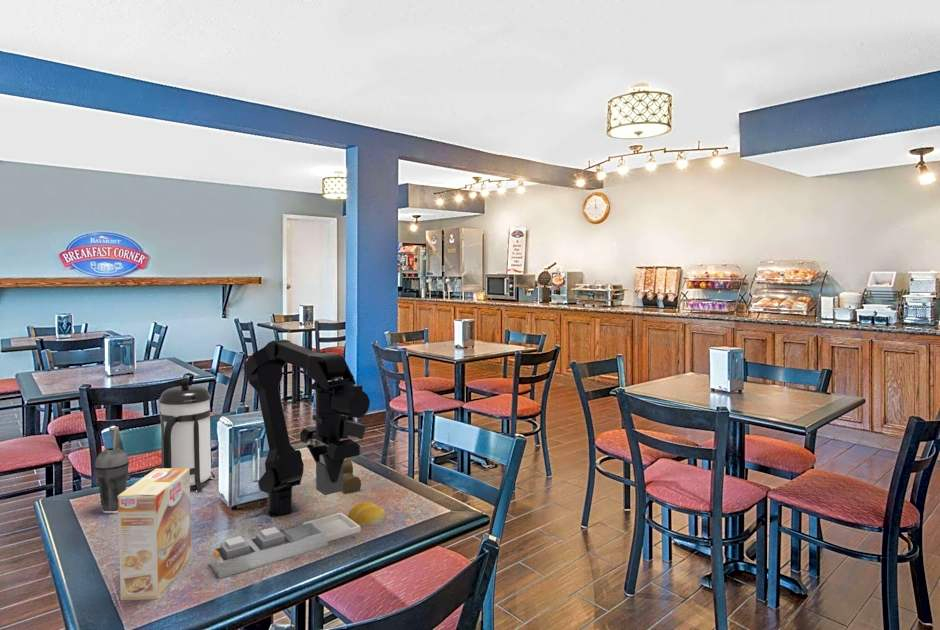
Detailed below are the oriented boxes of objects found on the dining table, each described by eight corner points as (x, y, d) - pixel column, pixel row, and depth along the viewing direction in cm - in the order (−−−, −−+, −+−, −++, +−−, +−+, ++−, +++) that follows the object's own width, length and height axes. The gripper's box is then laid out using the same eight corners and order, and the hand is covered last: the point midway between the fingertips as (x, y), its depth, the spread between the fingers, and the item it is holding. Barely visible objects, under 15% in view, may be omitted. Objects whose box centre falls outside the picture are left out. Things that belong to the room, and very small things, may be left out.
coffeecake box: (160, 601, 103) (157, 494, 101) (118, 603, 102) (114, 495, 101) (193, 560, 118) (191, 466, 116) (157, 561, 117) (154, 467, 116)
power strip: (209, 566, 115) (209, 546, 115) (313, 536, 129) (313, 518, 129) (219, 581, 110) (219, 560, 109) (327, 547, 123) (327, 529, 123)
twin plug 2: (256, 553, 120) (255, 530, 119) (277, 547, 122) (276, 524, 122) (263, 562, 116) (263, 537, 116) (284, 555, 119) (284, 531, 119)
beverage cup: (88, 513, 140) (86, 432, 139) (117, 502, 147) (114, 425, 145) (109, 518, 137) (106, 435, 136) (137, 507, 144) (135, 428, 143)
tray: (302, 530, 132) (302, 522, 132) (341, 519, 138) (341, 512, 138) (320, 546, 124) (320, 537, 124) (360, 534, 130) (360, 526, 130)
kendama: (335, 500, 151) (310, 476, 168) (369, 494, 156) (342, 471, 173) (336, 478, 151) (311, 456, 167) (370, 472, 156) (342, 451, 172)
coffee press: (144, 486, 158) (141, 378, 156) (204, 472, 170) (202, 371, 168) (166, 504, 146) (163, 387, 144) (229, 488, 158) (227, 379, 156)
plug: (316, 489, 130) (316, 454, 130) (334, 485, 133) (334, 451, 132) (324, 495, 127) (324, 459, 126) (343, 490, 130) (342, 455, 129)
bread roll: (362, 532, 132) (362, 515, 131) (343, 519, 138) (343, 503, 138) (393, 522, 137) (393, 505, 137) (373, 510, 144) (373, 495, 144)
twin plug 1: (220, 564, 115) (220, 539, 115) (243, 557, 118) (242, 533, 118) (227, 572, 112) (226, 547, 111) (250, 566, 115) (250, 541, 114)
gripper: (381, 413, 127) (382, 483, 128) (342, 399, 141) (343, 461, 142) (335, 421, 120) (335, 494, 121) (298, 405, 134) (299, 471, 135)
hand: (329, 479), depth 130 cm, fingers closed on plug, 4 cm apart
